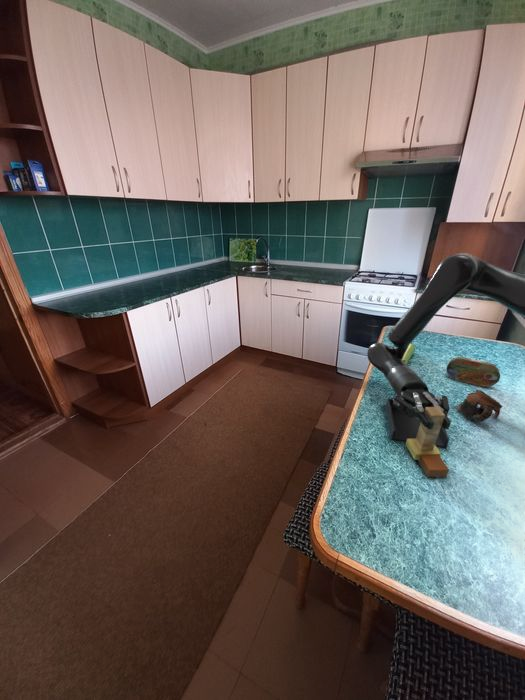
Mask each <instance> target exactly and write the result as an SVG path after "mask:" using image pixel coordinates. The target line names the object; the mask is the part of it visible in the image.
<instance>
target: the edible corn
mask: <svg viewBox="0 0 525 700" xmlns="http://www.w3.org/2000/svg"><path fill="white" fill-rule="evenodd" d="M415 352H416V346H415V345H414V343H413V342H412V343H411V344H410V345H409V347H408V349H407V350H406V352H405V354H404V356H403V359H402V360H403V361H404V362H405V363H406V364H407V365H408V363H409V361H410V360H411V358H412V356H413V355H414V354H415Z"/></svg>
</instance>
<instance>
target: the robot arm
mask: <svg viewBox="0 0 525 700" xmlns="http://www.w3.org/2000/svg"><path fill="white" fill-rule="evenodd" d="M463 290H466V291H470V292H473V293H476V294H479V295H482V296H485V297H487V298H490V299H492V300H493V301H495V302H496V303H498V304H500V305H501V306H504V307H505V308H507V309H508V310H510V311H511V312H514V313H515V314H517V315H519V316H521V317H523V318H525V274H523V273H518V272H514V271H511V270H507V269H505V268H502V267H499V266H497V265H494V264H492V263H490V262H487V261H485V260H483V259H481V258H478V257H477V256H475V255H473V254H471V253H467V252H458V253H454V254H451V255H449V256H447V257H445V258H444V259H443V260H442V261H440V263H438V266H437V267H436V269H435V272H434V273H433V275H432V277H431V279H430V280H429V282H428V283H427V285H426V287H425V289H424V290H423V291H422V293H421V294H420V295H419V296H418V298H417V299H416V300H415V302H414V303H413V304H412V305H411V306H410V307H409V309H408V310H407V311H405V313H404V314H403V315H402V316H401V317H400V319H398V321H397V322H396V323H395V324H394V326H393V327H392V328H391V329H390V330H389V332H388V333H387V338H388V340H389V341H390V342H391V344H393V346H390V345H388V344H385V343H383V342H374V343H372V344H370V346H369V347H368V349H367V350H366V351H367V352H366V356H367V360H368V361H369V363H370V364H371V365H372V366H373V367H374V368H376V369H377V370H378V372H381V374H383V376H384V377H385V379H386V380H387V381H388V384H389V386H390V388H391V389H392V390H393V392H394V394H395V396H394V397H393V399H394V401H393V406H394V407H396V408H397V409H399V410H400V411H401V412H403V413H404V414H405V415H407V416H408V417H410V418H413V417H416V418H417V419H419V420H420V421H421V423H422V424H423V425H424V426H425V427H427V428H428V429H429V430H432V429H433V426H434V422H433V420H432V419H431V418H430V417H429V415H428V414H427V413H426V412H424V409H425V407H439V409H440V410H441V411H442V412H443V413H444V415H445V417H444V420H443V423H442V427H443V428H444V429H445V430H449V429H450V428H451V427H450V426H451V423H452V421H451V420H450V418H449V417H448V414H449V411H450V409H451V408H450V403H449V398H448V396H447V395H445V394H443V395H441V397H440V396H436V395H435V394H434V393H432V392H431V391H430V390H429V388H428V385H427V384H426V383H425V382H424V380H423V379H422V377H420V376H419V375H418V374H417V373H416V372H415V371H414V369H412V368H411V367H410V366H409V364H408V363H407V364H406V363H405V362H404V361H403V360H402V359H403V356H404V354H405V352H406V350H407V349H408V347H409V345H410V344H411V343H413V342H414V341H415V339H416V338H417V337H418V336H419V335H421V333H422V332H423V331H424V329H425V328H426V327H427V326H428V324H430V322H431V321H432V319H433V318H434V317H435V316H436V314H437V313H438V312H439V311H440V310H441V309H442V308H443V307H444V306H445V305H446V304H448V302H449V301H451V300H452V299H453V298H454V297H455V296H457V295H458V294H459V293H460V292H462V291H463ZM407 409H409V411H408V410H407Z"/></svg>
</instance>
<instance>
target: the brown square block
mask: <svg viewBox="0 0 525 700" xmlns="http://www.w3.org/2000/svg"><path fill="white" fill-rule="evenodd" d="M418 464H419V466H420V467H421V469H422V471H423V472H424V474H425V475H426V477H427V478H447V477H448V474H449V472H450V469H449V468H448V465H447V464H446V463H445V461H444V460H443V459H442V457H441V455H440V456H439V455H421V456H420V459H419V460H418Z"/></svg>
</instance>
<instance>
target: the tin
mask: <svg viewBox="0 0 525 700" xmlns="http://www.w3.org/2000/svg"><path fill="white" fill-rule="evenodd" d="M446 373H447V375H448V377H450V378H451V379H453V380H454V381H458V382H461V383H465V384H469V385H473V386H478V387H482V388H489V387H493V386H495V385H496V384H498V382H499V381H500V379H501V373H500V369H499V368H498V367H497V366H496V365H495V364H493V363H491V362H488V361H485V360H484V361H483V360H478V359H474V358H468V357H463V356H458V357H453V358H452V359H451V360H449V362H448V363H447V366H446Z"/></svg>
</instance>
